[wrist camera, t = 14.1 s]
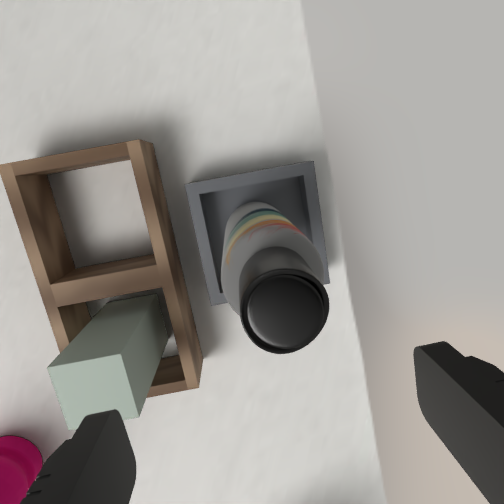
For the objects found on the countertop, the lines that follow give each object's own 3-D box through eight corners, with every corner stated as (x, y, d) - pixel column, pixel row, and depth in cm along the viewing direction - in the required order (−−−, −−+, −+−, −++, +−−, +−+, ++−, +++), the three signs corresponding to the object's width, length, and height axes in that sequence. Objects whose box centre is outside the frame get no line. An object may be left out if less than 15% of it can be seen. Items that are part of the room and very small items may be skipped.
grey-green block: (107, 302, 36) (46, 367, 24) (156, 293, 36) (120, 353, 24) (120, 348, 37) (68, 430, 25) (168, 338, 37) (139, 417, 25)
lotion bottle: (270, 269, 35) (317, 397, 16) (215, 246, 34) (194, 350, 15) (295, 215, 34) (381, 280, 14) (240, 190, 33) (252, 223, 14)
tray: (189, 182, 34) (184, 184, 30) (305, 161, 34) (313, 160, 30) (213, 292, 36) (211, 305, 33) (320, 272, 36) (330, 283, 33)
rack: (32, 165, 33) (-3, 165, 28) (152, 143, 33) (138, 139, 28) (99, 379, 38) (79, 410, 33) (203, 359, 38) (198, 387, 33)
